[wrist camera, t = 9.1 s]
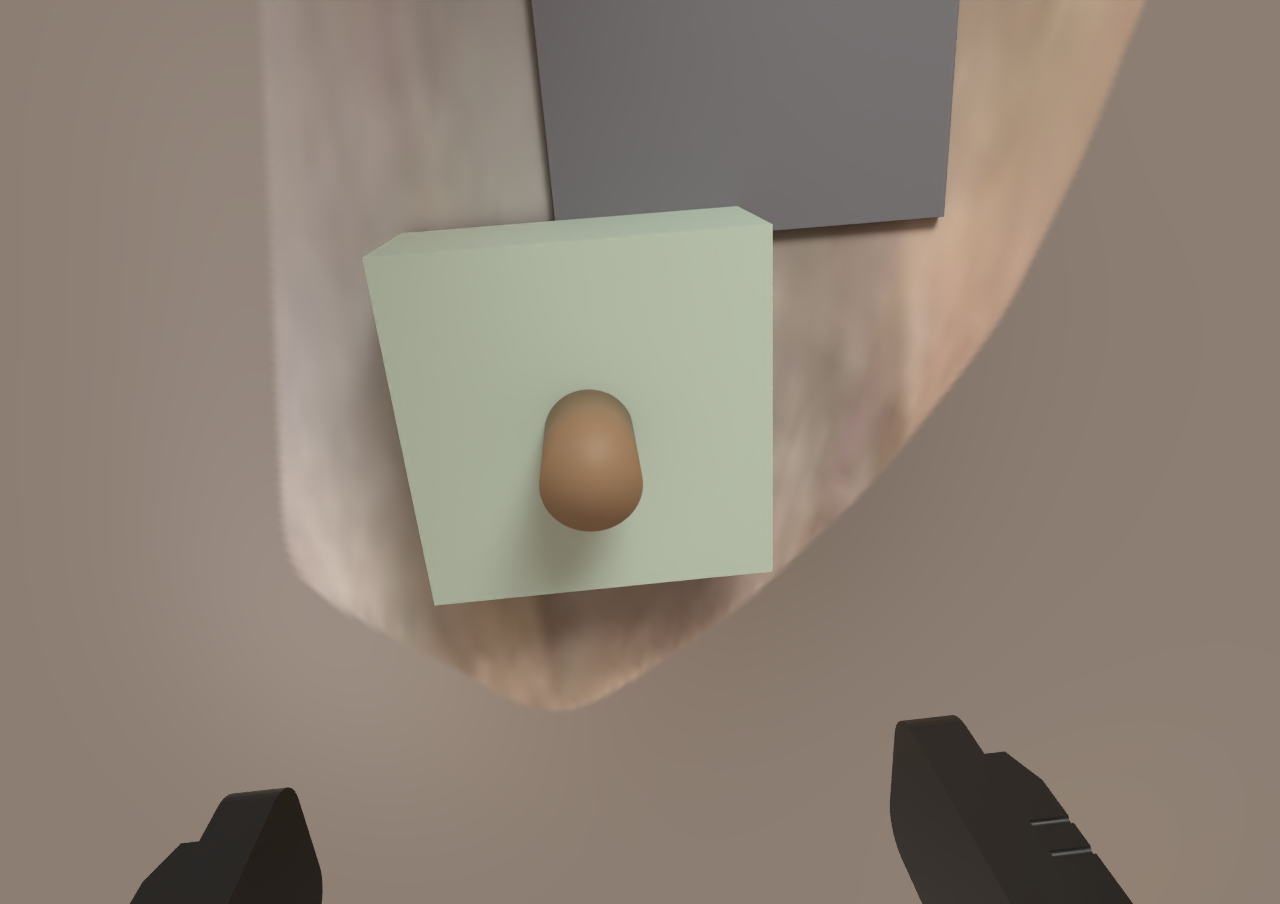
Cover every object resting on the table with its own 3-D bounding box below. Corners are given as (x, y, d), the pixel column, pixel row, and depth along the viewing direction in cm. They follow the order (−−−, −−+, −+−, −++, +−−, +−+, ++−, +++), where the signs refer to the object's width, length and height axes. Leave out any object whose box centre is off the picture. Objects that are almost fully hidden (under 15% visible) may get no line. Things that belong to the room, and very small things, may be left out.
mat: (505, -245, 22) (504, -251, 22) (972, -269, 23) (979, -276, 23) (558, 246, 28) (557, 248, 27) (939, 215, 28) (943, 216, 28)
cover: (400, 233, 27) (318, 285, 18) (737, 205, 27) (811, 244, 19) (456, 530, 31) (411, 683, 23) (742, 502, 32) (803, 641, 23)
